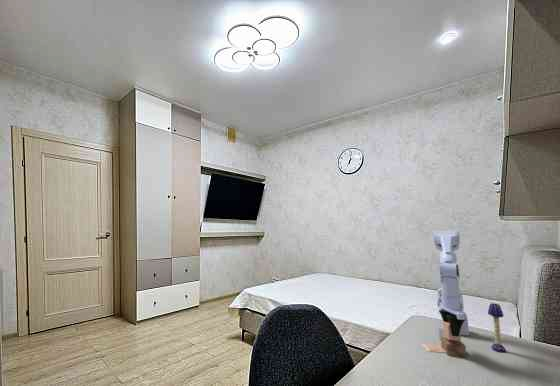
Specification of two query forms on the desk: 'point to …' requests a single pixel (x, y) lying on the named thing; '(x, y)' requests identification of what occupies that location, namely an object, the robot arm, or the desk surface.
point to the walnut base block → (453, 347)
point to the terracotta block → (448, 332)
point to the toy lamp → (496, 326)
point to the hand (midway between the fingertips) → (452, 333)
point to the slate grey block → (441, 333)
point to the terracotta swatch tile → (433, 348)
